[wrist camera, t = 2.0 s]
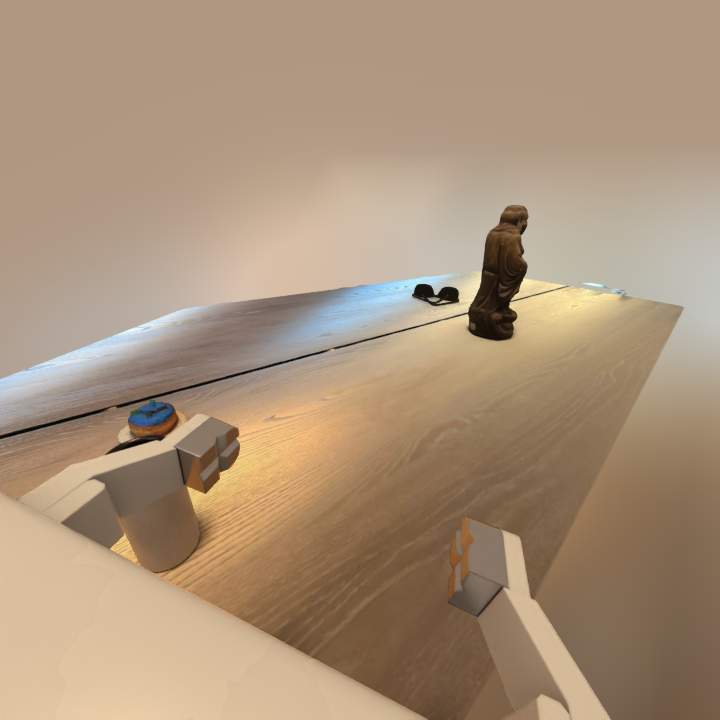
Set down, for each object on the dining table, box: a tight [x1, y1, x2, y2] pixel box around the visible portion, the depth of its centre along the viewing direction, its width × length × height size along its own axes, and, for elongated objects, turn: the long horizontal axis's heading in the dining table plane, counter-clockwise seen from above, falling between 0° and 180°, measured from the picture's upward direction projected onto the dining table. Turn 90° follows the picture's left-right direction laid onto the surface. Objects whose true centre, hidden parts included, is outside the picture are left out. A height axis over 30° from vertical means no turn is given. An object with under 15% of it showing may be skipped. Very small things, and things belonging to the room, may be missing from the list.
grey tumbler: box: [105, 435, 200, 572], centre depth 23 cm, size 4×4×10 cm
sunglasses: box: [412, 284, 459, 306], centre depth 102 cm, size 17×14×5 cm
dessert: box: [118, 400, 187, 443], centre depth 38 cm, size 8×7×6 cm
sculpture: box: [468, 205, 528, 339], centre depth 71 cm, size 12×13×30 cm
